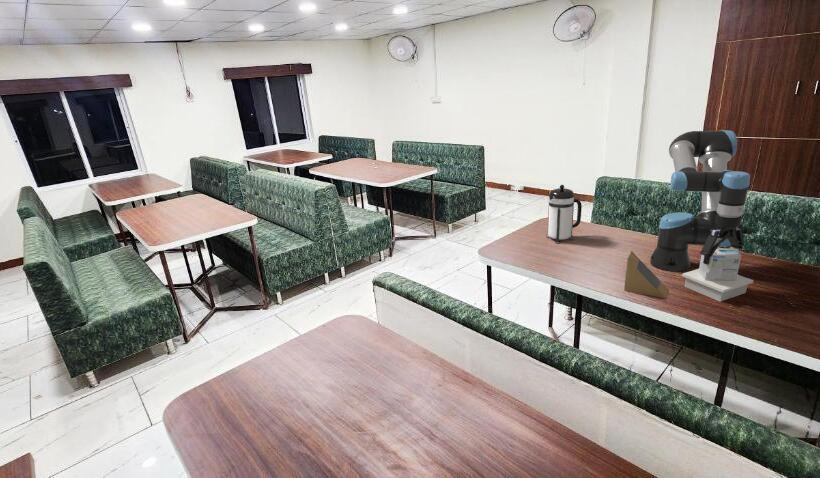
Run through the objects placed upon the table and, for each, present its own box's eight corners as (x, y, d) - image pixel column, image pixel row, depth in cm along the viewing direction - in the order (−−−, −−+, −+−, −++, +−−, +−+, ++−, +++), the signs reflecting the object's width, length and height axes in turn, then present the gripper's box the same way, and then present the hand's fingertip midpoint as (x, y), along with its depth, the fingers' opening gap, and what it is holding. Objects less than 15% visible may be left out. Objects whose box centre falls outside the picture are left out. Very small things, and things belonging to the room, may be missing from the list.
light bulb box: (727, 273, 160) (733, 247, 156) (737, 280, 154) (742, 254, 150) (697, 272, 162) (701, 247, 158) (705, 280, 156) (709, 254, 152)
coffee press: (572, 245, 212) (576, 189, 201) (541, 241, 220) (543, 187, 210) (580, 234, 225) (583, 181, 215) (550, 231, 234) (552, 179, 223)
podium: (680, 286, 164) (682, 273, 162) (708, 277, 169) (710, 265, 167) (720, 303, 150) (723, 290, 148) (750, 293, 155) (753, 280, 153)
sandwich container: (668, 299, 156) (673, 263, 151) (623, 291, 165) (627, 257, 159) (669, 289, 163) (674, 255, 158) (626, 282, 171) (630, 249, 166)
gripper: (715, 223, 142) (705, 278, 149) (763, 211, 149) (751, 263, 157) (694, 218, 149) (685, 270, 156) (741, 206, 156) (730, 257, 164)
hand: (718, 267), depth 156 cm, fingers open, 13 cm apart
